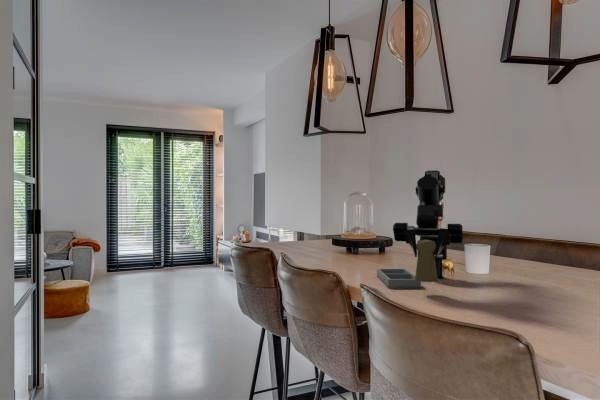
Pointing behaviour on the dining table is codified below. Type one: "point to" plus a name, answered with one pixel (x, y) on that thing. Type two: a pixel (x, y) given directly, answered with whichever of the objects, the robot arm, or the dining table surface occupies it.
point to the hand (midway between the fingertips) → (425, 256)
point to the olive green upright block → (426, 261)
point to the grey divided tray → (398, 278)
